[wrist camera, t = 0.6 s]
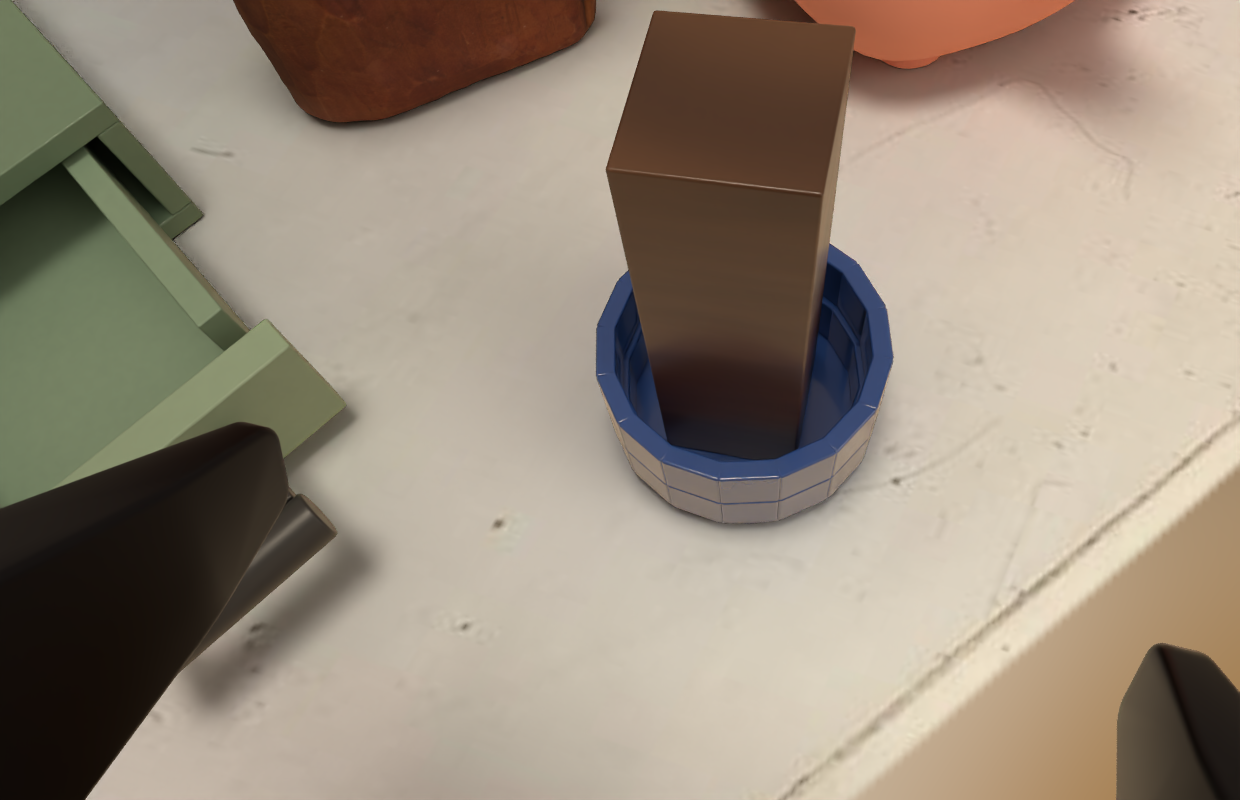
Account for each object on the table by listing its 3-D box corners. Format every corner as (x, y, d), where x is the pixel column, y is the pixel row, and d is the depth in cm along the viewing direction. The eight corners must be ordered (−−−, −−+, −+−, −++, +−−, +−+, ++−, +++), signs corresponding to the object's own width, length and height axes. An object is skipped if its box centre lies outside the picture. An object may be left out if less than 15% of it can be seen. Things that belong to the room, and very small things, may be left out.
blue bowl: (828, 567, 25) (840, 522, 21) (578, 479, 27) (550, 424, 23) (903, 336, 27) (926, 259, 24) (669, 270, 29) (657, 191, 25)
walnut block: (794, 468, 25) (823, 196, 14) (667, 445, 26) (604, 170, 15) (815, 353, 27) (856, 25, 16) (693, 334, 27) (653, 8, 17)
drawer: (434, 503, 26) (385, 453, 22) (118, 782, 24) (11, 773, 20) (77, 98, 34) (1, 17, 31) (-180, 280, 32) (-291, 215, 29)
